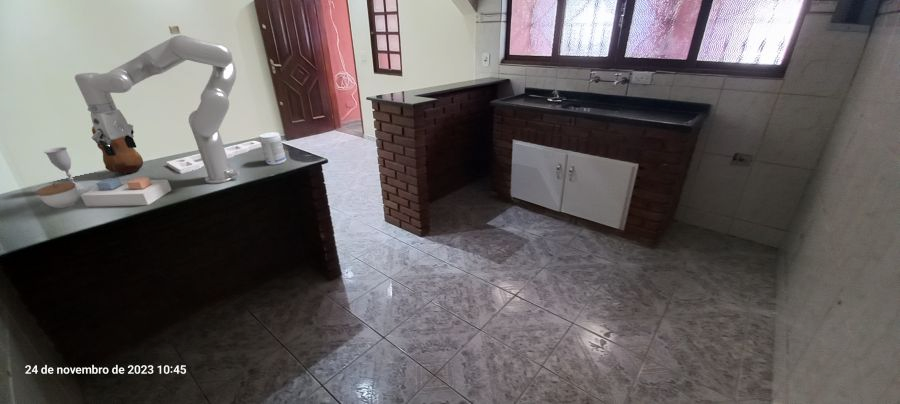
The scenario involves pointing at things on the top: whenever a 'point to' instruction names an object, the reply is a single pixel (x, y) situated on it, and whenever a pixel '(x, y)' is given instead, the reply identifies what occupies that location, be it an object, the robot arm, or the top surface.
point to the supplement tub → (272, 148)
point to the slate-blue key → (109, 184)
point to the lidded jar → (59, 194)
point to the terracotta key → (139, 183)
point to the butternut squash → (121, 157)
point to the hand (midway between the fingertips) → (122, 151)
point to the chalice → (62, 162)
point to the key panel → (127, 194)
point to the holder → (189, 163)
